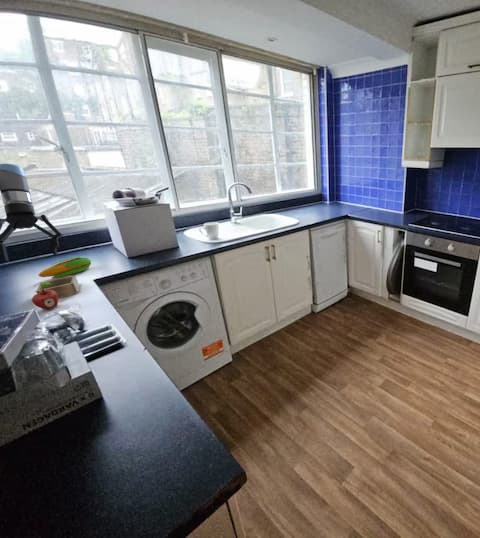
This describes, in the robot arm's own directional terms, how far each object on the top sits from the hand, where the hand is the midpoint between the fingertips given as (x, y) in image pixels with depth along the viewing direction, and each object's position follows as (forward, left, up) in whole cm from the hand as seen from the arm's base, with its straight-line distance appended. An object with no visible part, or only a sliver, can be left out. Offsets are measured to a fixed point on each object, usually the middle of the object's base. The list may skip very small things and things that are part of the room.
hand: (31, 258), depth 114 cm
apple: (+1, -11, -18) cm, 21 cm away
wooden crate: (+3, +4, -18) cm, 19 cm away
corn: (+4, +29, -18) cm, 34 cm away
